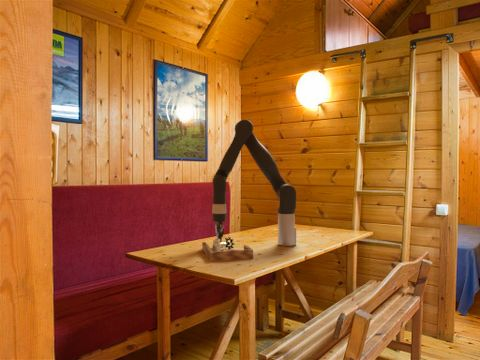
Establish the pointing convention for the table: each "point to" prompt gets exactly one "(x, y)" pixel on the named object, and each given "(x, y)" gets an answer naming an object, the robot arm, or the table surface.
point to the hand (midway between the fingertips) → (219, 244)
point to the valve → (222, 244)
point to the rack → (227, 253)
